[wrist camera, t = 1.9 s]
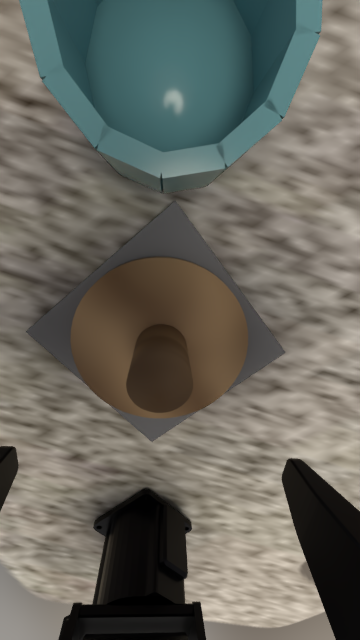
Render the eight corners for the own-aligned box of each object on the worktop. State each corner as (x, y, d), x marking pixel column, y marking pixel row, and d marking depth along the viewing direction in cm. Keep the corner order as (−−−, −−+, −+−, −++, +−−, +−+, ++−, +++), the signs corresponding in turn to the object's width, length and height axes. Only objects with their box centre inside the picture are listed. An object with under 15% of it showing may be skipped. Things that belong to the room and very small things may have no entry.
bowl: (160, 226, 15) (157, 228, 10) (34, 64, 12) (-53, -40, 7) (296, 108, 13) (370, 43, 8) (187, -113, 10) (206, -401, 5)
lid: (152, 434, 19) (148, 498, 15) (37, 332, 16) (-13, 375, 12) (275, 351, 17) (313, 395, 13) (173, 214, 14) (177, 210, 10)
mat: (152, 437, 20) (151, 441, 20) (28, 329, 16) (25, 331, 16) (282, 349, 18) (285, 352, 17) (175, 201, 14) (175, 200, 14)
